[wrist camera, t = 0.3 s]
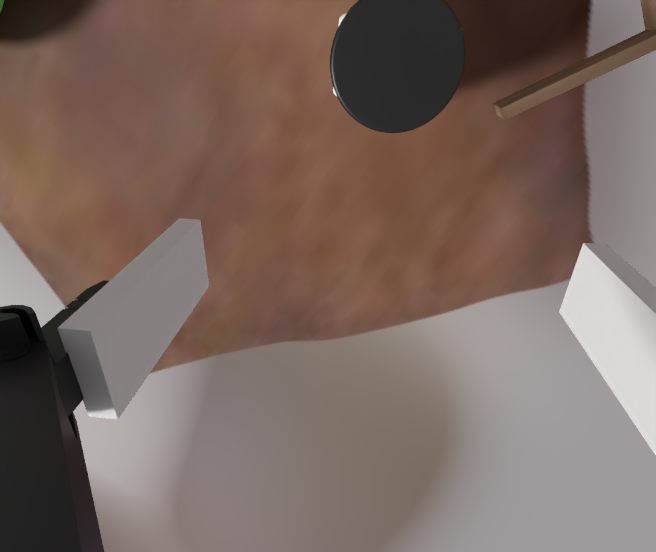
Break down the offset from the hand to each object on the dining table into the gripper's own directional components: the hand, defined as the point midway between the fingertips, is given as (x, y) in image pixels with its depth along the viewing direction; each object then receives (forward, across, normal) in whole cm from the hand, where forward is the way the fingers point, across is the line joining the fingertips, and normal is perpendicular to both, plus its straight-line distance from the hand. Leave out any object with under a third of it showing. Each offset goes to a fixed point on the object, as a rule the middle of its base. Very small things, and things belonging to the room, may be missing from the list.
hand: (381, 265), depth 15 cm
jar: (+28, +1, +6) cm, 28 cm away
